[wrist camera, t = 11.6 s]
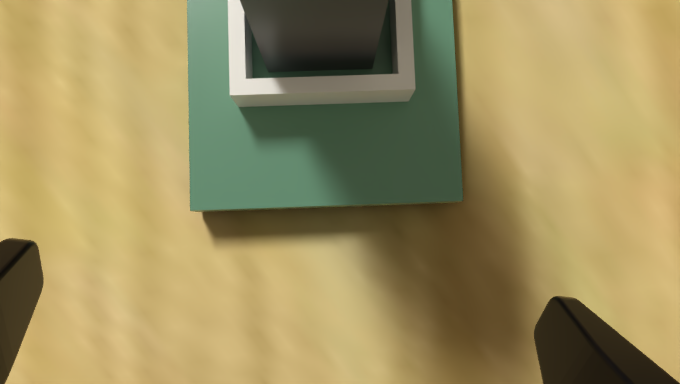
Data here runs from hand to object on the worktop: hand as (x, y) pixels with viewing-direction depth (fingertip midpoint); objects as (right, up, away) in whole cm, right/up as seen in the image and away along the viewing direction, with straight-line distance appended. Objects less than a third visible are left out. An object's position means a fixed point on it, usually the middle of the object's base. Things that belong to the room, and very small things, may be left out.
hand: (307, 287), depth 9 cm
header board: (0, +8, +10) cm, 13 cm away
